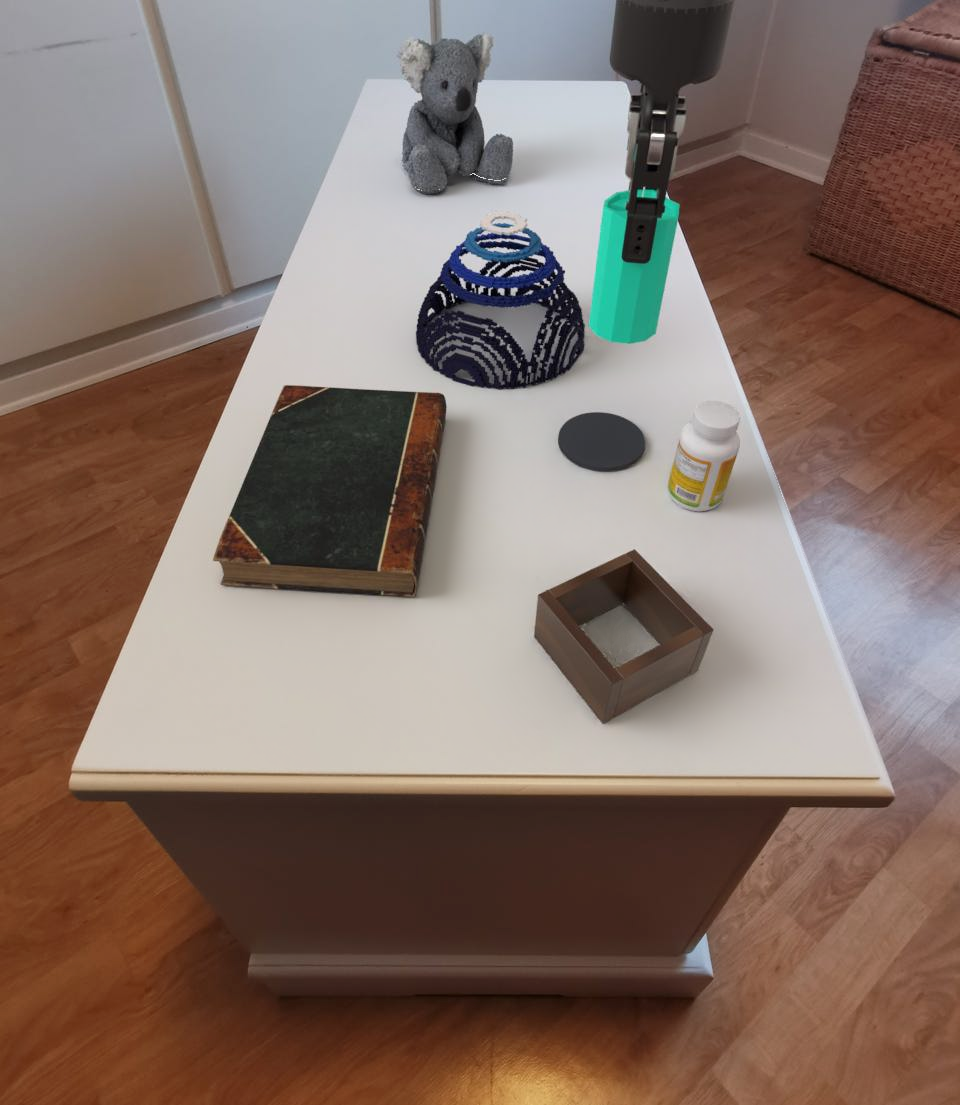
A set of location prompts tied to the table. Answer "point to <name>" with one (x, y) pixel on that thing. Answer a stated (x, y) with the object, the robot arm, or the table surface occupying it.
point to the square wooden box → (653, 608)
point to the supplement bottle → (705, 457)
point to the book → (337, 493)
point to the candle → (630, 275)
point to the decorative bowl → (495, 299)
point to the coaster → (601, 441)
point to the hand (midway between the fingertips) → (636, 240)
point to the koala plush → (449, 114)
